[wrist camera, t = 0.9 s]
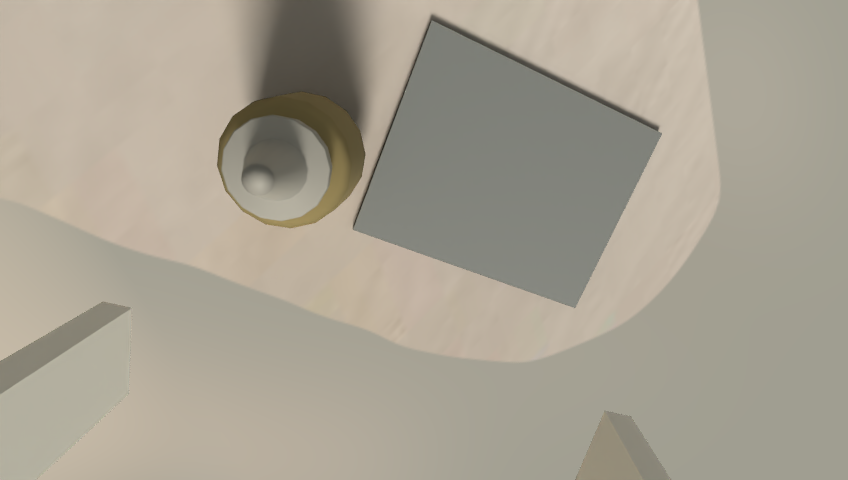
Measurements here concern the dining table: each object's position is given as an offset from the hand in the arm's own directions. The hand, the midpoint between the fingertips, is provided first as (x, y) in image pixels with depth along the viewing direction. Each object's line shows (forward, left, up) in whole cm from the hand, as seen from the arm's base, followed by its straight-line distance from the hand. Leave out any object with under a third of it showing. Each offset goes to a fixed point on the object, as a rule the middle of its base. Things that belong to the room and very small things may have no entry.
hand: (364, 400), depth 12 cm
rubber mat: (-7, +10, -24) cm, 27 cm away
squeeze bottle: (-4, -5, -24) cm, 25 cm away
